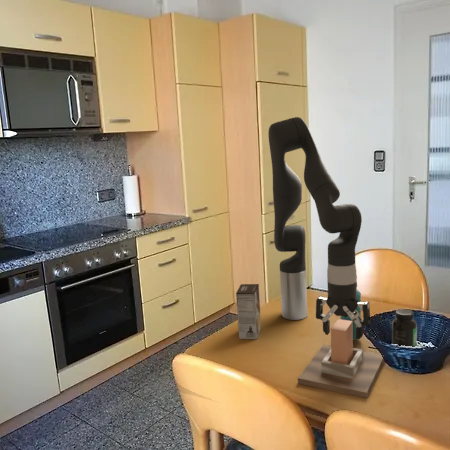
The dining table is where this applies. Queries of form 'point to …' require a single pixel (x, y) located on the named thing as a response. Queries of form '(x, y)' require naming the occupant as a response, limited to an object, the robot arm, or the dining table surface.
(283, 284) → the robot arm
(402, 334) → the supplement bottle
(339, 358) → the keyed peg
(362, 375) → the keyed holder
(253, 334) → the coffee box
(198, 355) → the dining table surface
